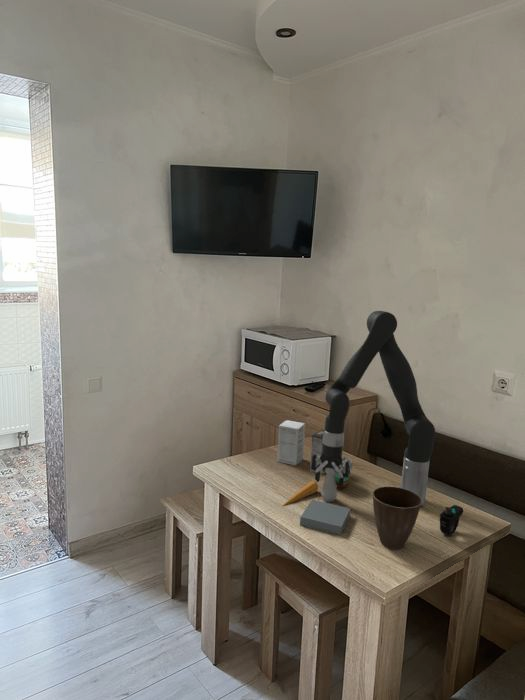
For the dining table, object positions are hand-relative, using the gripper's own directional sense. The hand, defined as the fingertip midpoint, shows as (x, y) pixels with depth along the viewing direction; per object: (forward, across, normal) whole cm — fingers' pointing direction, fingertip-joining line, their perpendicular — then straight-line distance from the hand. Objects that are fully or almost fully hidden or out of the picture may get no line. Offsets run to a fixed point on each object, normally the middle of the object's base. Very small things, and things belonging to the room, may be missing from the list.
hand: (328, 483), depth 190 cm
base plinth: (+6, -4, +16) cm, 18 cm away
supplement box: (+7, +25, -29) cm, 39 cm away
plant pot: (+6, -26, +20) cm, 34 cm away
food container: (+6, -2, -14) cm, 16 cm away
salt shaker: (+6, 0, 0) cm, 6 cm away
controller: (+6, -43, +4) cm, 44 cm away
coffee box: (+6, +10, -26) cm, 29 cm away
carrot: (+7, +10, +4) cm, 13 cm away
